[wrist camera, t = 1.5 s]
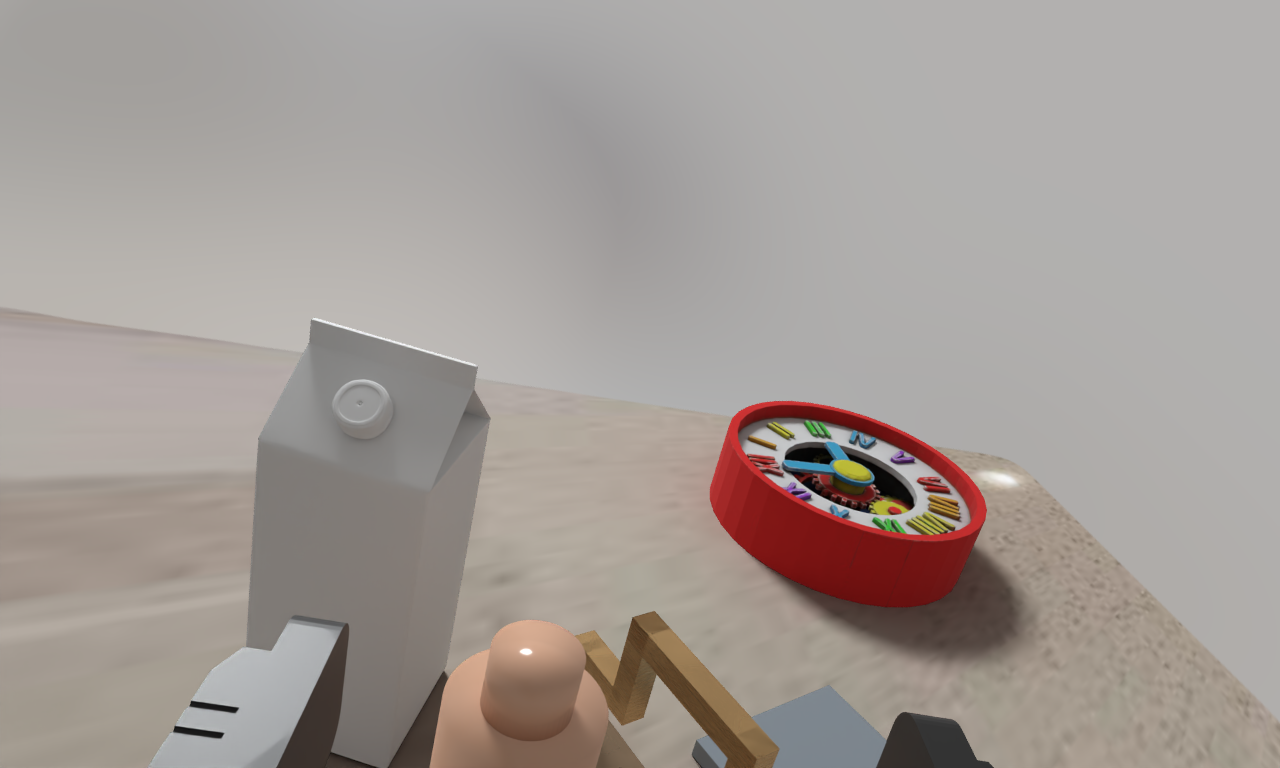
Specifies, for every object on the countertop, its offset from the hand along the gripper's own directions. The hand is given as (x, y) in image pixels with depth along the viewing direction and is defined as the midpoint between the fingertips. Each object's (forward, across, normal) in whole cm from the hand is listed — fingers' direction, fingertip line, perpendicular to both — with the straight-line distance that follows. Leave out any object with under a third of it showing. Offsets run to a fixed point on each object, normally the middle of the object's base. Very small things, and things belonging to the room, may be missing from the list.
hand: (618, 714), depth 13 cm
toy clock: (+50, -22, +23) cm, 59 cm away
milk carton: (+25, +9, +23) cm, 35 cm away
